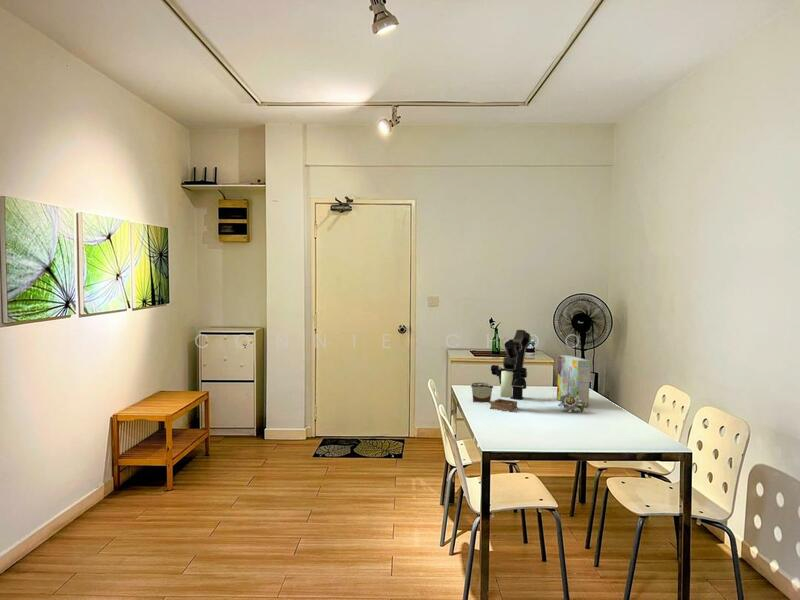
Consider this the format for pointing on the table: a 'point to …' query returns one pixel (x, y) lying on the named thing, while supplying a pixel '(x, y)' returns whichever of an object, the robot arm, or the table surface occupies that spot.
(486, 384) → the food container
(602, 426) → the table surface
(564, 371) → the snack box
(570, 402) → the passion flower
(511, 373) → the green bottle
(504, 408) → the holder
